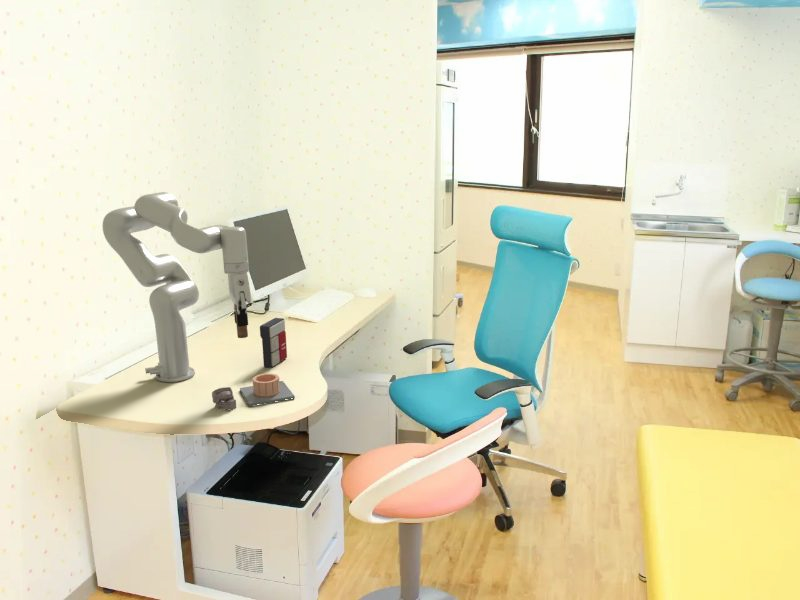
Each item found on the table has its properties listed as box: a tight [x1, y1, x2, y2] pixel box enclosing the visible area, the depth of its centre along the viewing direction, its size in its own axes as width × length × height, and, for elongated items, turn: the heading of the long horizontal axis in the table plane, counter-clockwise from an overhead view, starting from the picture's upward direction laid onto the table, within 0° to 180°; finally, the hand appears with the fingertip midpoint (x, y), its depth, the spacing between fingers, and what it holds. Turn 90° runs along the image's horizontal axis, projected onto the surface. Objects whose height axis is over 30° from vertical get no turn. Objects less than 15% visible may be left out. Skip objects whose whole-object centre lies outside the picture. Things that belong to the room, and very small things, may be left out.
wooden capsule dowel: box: [235, 302, 249, 339], centre depth 223 cm, size 3×3×12 cm
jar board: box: [239, 372, 296, 407], centre depth 222 cm, size 14×14×6 cm
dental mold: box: [211, 386, 237, 411], centre depth 214 cm, size 8×7×5 cm
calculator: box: [259, 317, 288, 369], centre depth 250 cm, size 11×4×15 cm, turn 160°
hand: (241, 323), depth 223 cm, fingers closed on wooden capsule dowel, 3 cm apart
